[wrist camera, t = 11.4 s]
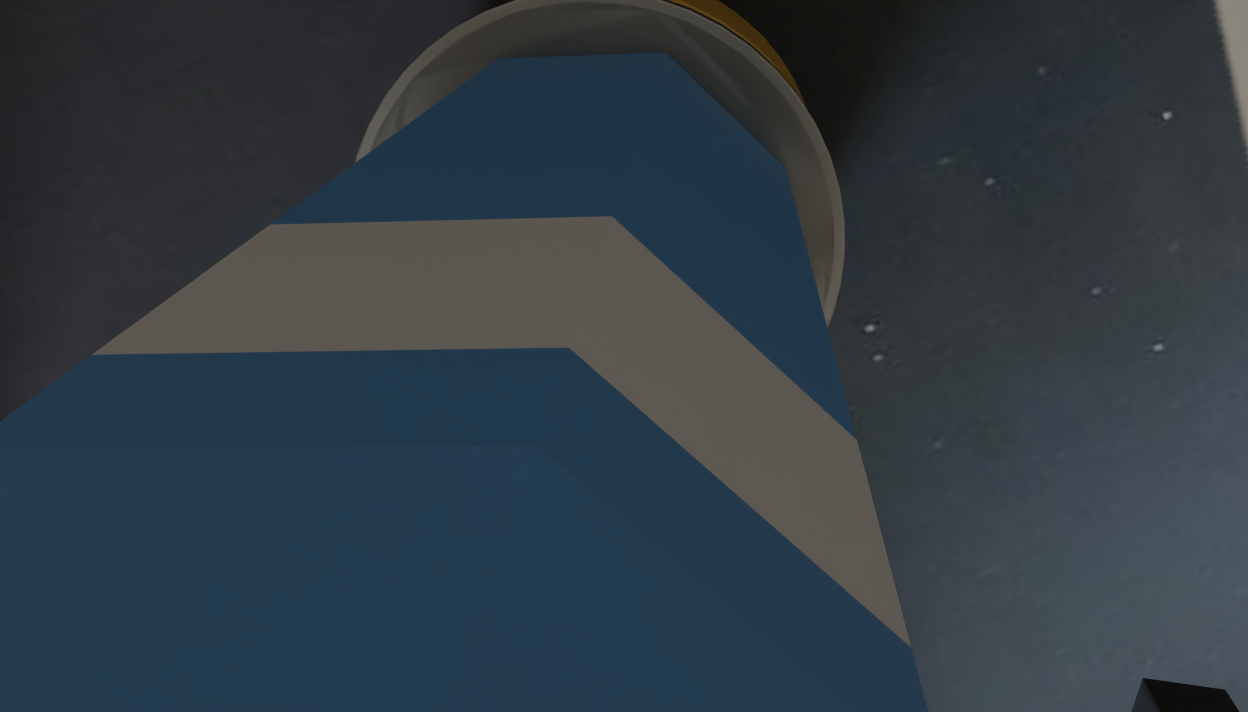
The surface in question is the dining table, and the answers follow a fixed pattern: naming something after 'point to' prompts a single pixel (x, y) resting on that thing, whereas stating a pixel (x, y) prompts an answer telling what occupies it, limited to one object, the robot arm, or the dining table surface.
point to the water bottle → (470, 441)
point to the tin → (650, 23)
